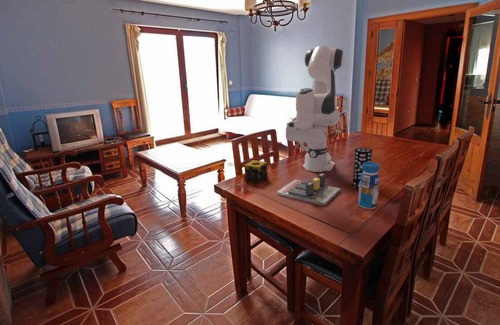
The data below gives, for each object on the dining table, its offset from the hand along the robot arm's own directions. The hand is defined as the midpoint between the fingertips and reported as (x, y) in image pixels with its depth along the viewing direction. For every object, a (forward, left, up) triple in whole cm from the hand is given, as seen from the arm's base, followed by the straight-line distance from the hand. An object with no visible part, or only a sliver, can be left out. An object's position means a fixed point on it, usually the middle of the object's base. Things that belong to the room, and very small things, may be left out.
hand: (305, 150), depth 145 cm
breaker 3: (-7, +6, -19) cm, 21 cm away
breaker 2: (0, +6, -19) cm, 20 cm away
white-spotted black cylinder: (-22, +22, -23) cm, 38 cm away
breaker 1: (+7, +6, -19) cm, 21 cm away
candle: (-3, -33, -23) cm, 40 cm away
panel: (0, +2, -22) cm, 22 cm away
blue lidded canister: (0, +31, -23) cm, 39 cm away
